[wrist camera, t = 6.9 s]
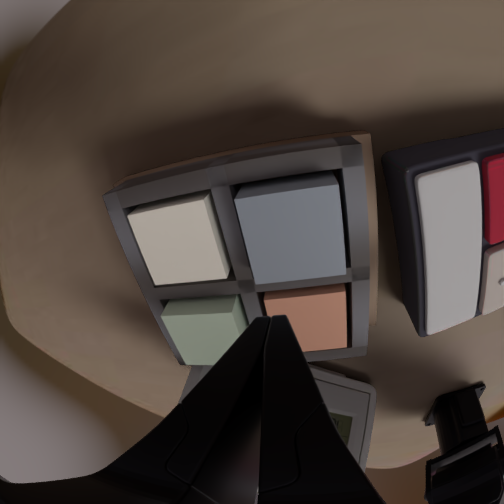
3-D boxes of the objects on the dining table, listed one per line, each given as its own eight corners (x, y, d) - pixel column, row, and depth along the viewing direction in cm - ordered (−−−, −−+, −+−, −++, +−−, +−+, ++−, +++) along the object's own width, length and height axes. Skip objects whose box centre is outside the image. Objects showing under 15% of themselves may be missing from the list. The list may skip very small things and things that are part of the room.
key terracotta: (343, 321, 18) (346, 347, 16) (279, 327, 18) (276, 353, 16) (340, 266, 16) (345, 291, 14) (267, 275, 17) (263, 300, 15)
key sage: (254, 337, 18) (249, 364, 16) (195, 339, 19) (186, 364, 17) (239, 285, 16) (231, 312, 14) (173, 291, 17) (160, 315, 15)
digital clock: (384, 383, 23) (398, 488, 14) (318, 421, 28) (314, 511, 19) (233, 298, 20) (191, 439, 11) (180, 358, 25) (140, 463, 16)
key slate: (340, 249, 14) (346, 274, 12) (261, 259, 15) (255, 284, 13) (331, 170, 12) (338, 184, 11) (243, 183, 13) (234, 199, 11)
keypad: (372, 310, 19) (382, 352, 16) (184, 326, 22) (167, 364, 19) (363, 130, 14) (385, 141, 10) (125, 176, 17) (88, 199, 13)
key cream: (235, 255, 16) (226, 278, 14) (169, 263, 17) (155, 285, 15) (216, 184, 14) (203, 199, 12) (146, 199, 15) (127, 215, 13)
